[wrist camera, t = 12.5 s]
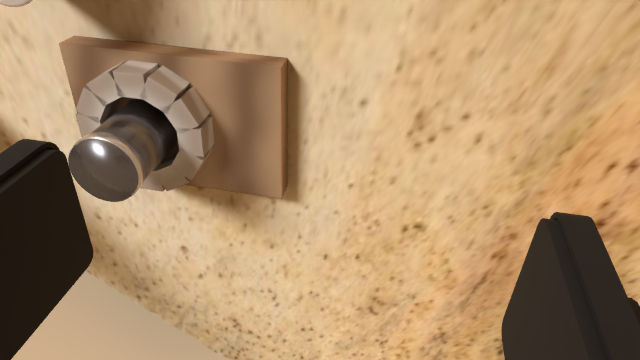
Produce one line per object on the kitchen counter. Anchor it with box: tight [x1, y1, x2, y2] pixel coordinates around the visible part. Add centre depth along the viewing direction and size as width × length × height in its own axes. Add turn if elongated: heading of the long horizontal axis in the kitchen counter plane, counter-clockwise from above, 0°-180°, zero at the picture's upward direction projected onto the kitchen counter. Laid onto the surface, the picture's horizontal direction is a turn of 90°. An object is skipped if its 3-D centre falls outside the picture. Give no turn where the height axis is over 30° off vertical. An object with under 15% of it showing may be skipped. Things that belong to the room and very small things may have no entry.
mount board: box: [59, 36, 287, 199], centre depth 41 cm, size 18×12×4 cm, turn 87°
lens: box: [68, 98, 178, 202], centre depth 38 cm, size 5×5×8 cm
